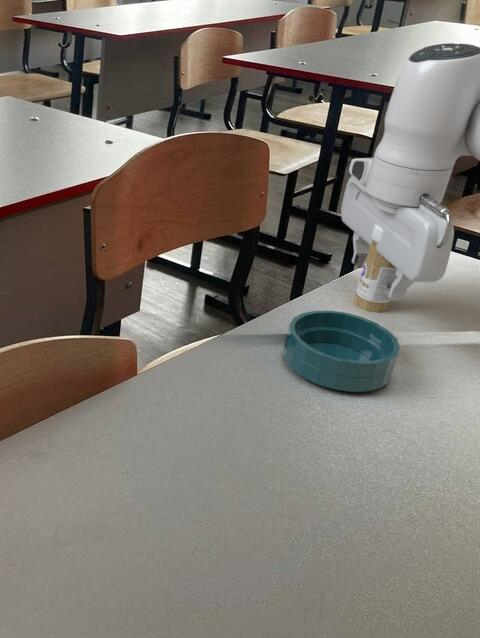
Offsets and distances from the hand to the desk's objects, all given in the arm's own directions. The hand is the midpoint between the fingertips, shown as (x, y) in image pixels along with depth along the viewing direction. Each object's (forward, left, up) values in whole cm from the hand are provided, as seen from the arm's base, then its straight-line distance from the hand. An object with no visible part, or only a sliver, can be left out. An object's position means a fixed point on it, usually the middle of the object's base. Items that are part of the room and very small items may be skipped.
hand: (375, 281), depth 101 cm
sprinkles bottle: (0, 0, -6) cm, 6 cm away
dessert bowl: (+10, +12, -6) cm, 16 cm away
